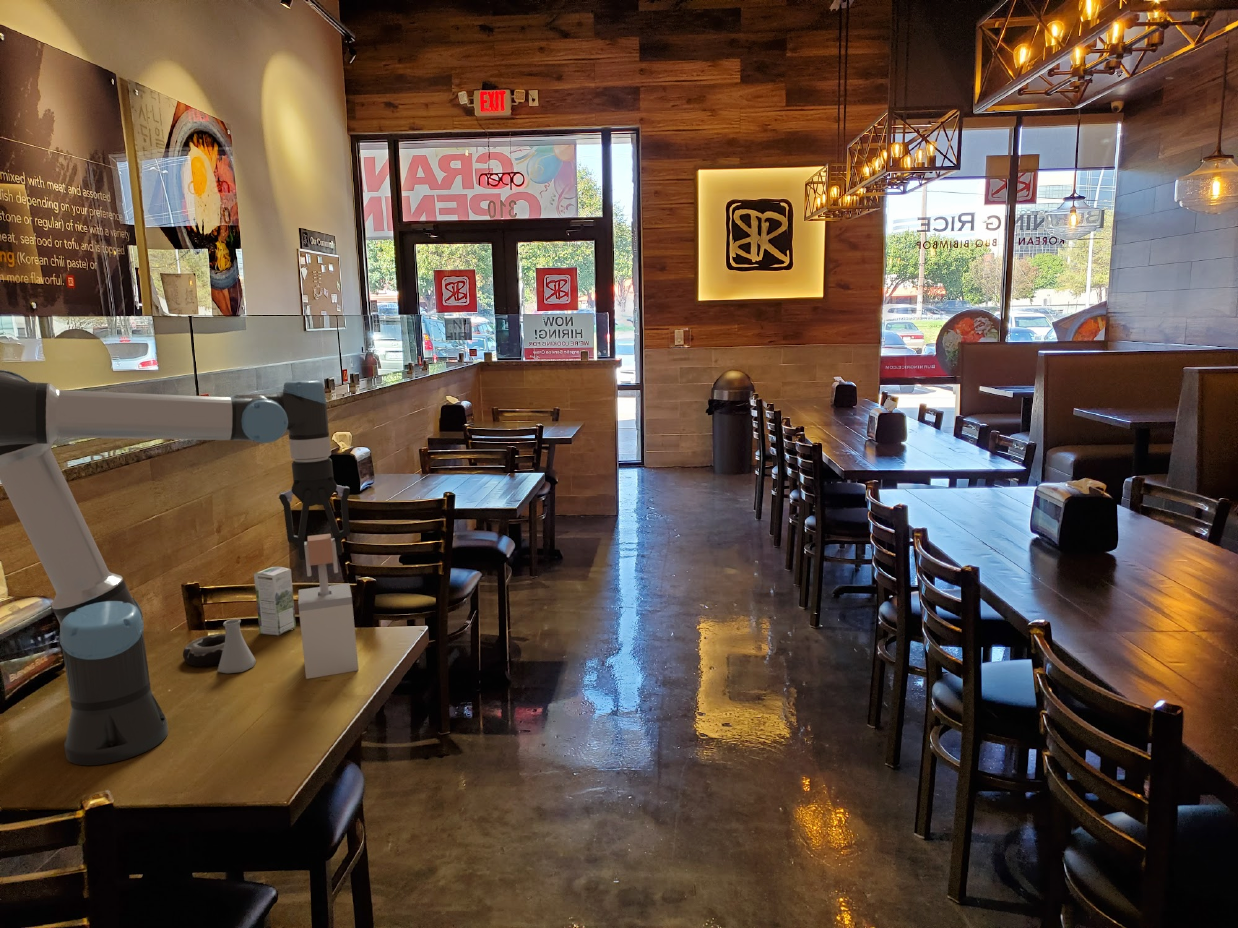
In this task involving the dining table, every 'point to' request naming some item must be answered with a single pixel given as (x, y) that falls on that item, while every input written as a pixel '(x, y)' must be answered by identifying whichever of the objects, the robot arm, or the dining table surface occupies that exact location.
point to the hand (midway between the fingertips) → (322, 572)
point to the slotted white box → (328, 631)
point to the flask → (235, 650)
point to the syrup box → (275, 600)
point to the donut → (205, 650)
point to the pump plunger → (321, 557)
